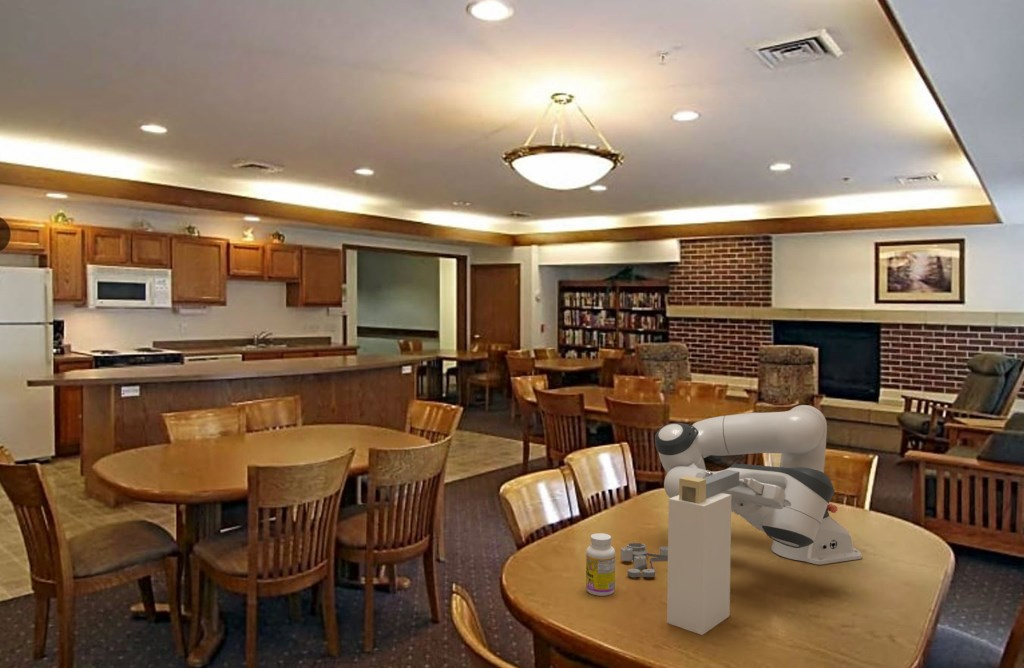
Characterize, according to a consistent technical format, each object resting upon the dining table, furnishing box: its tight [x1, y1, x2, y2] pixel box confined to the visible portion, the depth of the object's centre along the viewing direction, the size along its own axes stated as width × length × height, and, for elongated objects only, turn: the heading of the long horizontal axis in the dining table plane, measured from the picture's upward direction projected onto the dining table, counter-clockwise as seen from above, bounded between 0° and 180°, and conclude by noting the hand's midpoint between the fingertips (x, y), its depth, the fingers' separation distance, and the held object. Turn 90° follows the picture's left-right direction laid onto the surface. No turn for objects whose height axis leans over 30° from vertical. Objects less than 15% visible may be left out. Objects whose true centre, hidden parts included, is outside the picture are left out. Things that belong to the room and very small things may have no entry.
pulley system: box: [620, 542, 668, 579], centre depth 182 cm, size 27×5×15 cm
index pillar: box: [666, 493, 732, 636], centre depth 148 cm, size 12×8×26 cm, turn 137°
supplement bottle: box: [585, 532, 616, 597], centre depth 163 cm, size 7×7×13 cm
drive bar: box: [679, 469, 739, 504], centre depth 151 cm, size 20×4×4 cm, turn 137°
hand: (726, 477), depth 156 cm, fingers open, 8 cm apart
